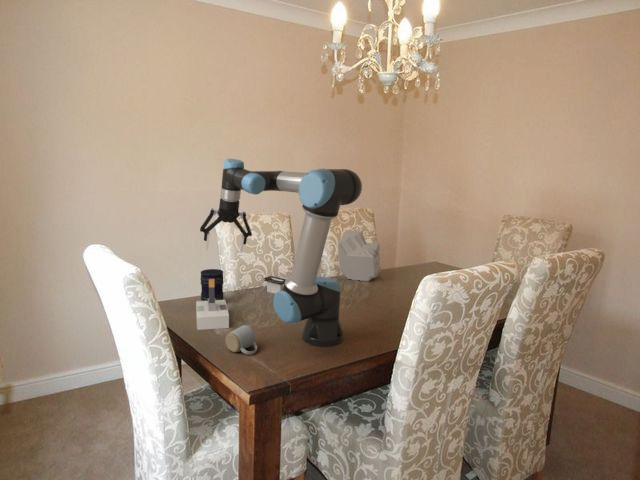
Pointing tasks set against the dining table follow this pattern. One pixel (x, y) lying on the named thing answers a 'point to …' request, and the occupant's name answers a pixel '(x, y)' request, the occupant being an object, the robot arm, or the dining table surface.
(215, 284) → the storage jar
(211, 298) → the switch lever
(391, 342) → the dining table surface
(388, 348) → the dining table surface
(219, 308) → the switch box
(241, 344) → the ceramic mug
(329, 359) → the dining table surface
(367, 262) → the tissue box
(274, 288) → the grey bin
